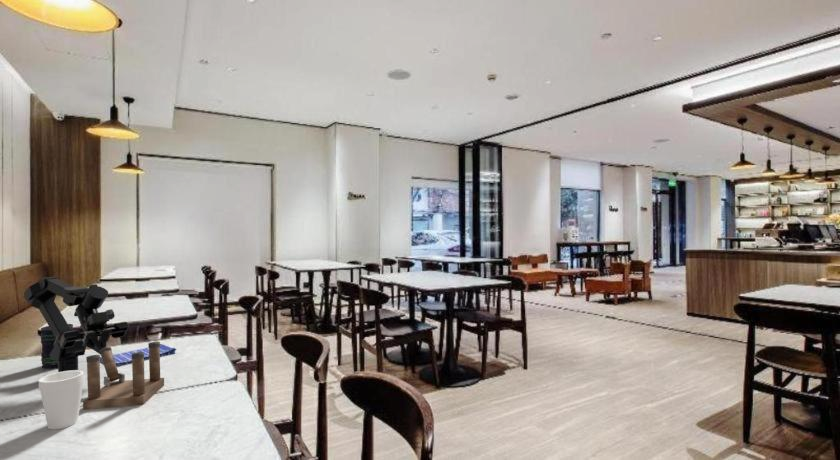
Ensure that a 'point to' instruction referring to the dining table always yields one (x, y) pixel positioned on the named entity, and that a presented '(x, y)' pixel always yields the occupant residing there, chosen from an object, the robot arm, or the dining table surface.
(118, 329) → the robot arm
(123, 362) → the dish towel
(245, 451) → the dining table surface
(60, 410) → the foam cup
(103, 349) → the hinged leg
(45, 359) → the storage jar
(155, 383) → the stool
